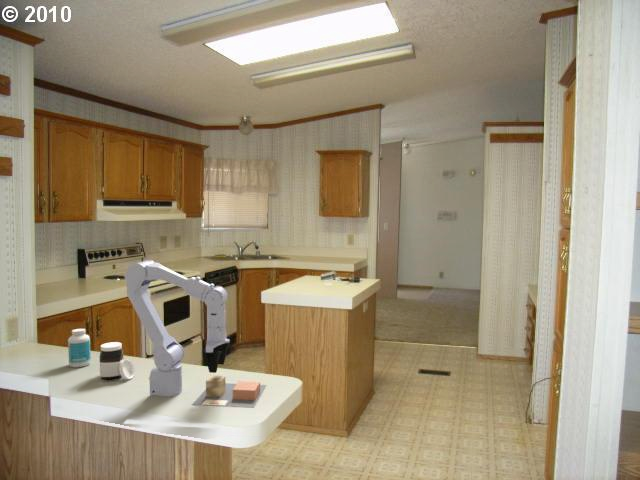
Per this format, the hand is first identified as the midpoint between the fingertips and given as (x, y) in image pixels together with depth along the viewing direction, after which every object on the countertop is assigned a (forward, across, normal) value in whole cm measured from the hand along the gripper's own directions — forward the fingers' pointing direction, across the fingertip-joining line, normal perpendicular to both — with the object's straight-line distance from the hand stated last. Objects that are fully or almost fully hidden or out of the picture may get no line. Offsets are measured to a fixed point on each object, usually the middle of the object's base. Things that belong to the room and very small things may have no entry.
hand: (216, 368), depth 153 cm
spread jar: (+10, +13, +40) cm, 44 cm away
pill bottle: (+10, +24, +61) cm, 67 cm away
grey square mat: (+9, 0, -5) cm, 10 cm away
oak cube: (+8, 0, 0) cm, 8 cm away
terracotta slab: (+8, 0, -10) cm, 13 cm away
